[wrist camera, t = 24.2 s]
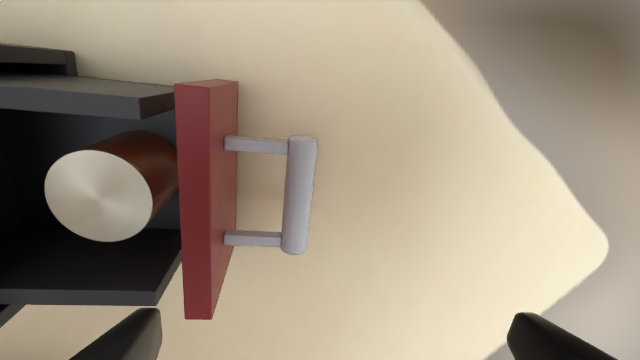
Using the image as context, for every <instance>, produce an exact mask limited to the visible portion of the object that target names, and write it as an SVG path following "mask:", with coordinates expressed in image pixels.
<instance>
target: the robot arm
mask: <svg viewBox="0 0 640 360" xmlns="http://www.w3.org/2000/svg"><path fill="white" fill-rule="evenodd" d="M161 343H162V327H161V316H160V311H159V309H157V308H140V309H138V310H136V311H135V312H133V313H132V314H131V315H129V316H128V317H126V318H125V319H124V320H122V321H121V322H120V323H118V324H117V325H116V326H114V327H113V328H111V329H110V330H109V331H107V332H106V333H105V334H103V335H102V336H100V337H99V338H98V339H96V340H95V341H94V342H92V343H91V344H90V345H88V346H87V347H85V348H84V349H83V350H81V351H80V352H79V353H77V354H76V355H75V356H73V357H72V358H70V359H69V360H156V359H157V356H158V353H159V350H160V347H161ZM507 343H508V346H509V348H510V350H511V352H512V354H513V356H514V358H515V360H618V359H616V358H614V357H612V356H610V355H608V354H607V353H605V352H603V351H601V350H600V349H598V348H596V347H594V346H593V345H591V344H589V343H587V342H585V341H583V340H582V339H580V338H578V337H576V336H574V335H573V334H571V333H569V332H567V331H566V330H564V329H562V328H560V327H558V326H557V325H555V324H553V323H551V322H549V321H548V320H546V319H544V318H542V317H541V316H539V315H537V314H535V313H524V312H521V313H517V314H516V315H515V317H514V319H513V322H512V324H511V327H510V329H509V332H508V334H507Z"/></svg>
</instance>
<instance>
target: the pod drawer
mask: <svg viewBox="0 0 640 360" xmlns="http://www.w3.org/2000/svg"><path fill="white" fill-rule="evenodd" d="M237 122H238V82H237V81H230V80H220V79H214V80H205V81H197V82H188V83H179V84H174V87H173V86H164V85H154V84H144V83H134V82H124V81H114V80H105V79H95V78H85V77H75V76H65V75H55V74H46V73H36V72H26V71H16V70H6V69H0V304H32V305H112V306H157V304H158V302H159V300H160V298H161V297H162V295H163V293H164V291H165V289H166V288H167V286H168V284H169V282H170V281H171V279H172V277H173V275H174V273H175V272H176V270H177V268H178V266H179V264H180V263H181V261H182V269H183V291H184V312H185V319H202V320H211V319H212V317H213V314H214V311H215V307H216V304H217V301H218V297H219V294H220V291H221V288H222V284H223V281H224V278H225V274H226V271H227V268H228V265H229V261H230V258H231V255H232V251H233V248H234V245H244V246H270V247H281V250H282V251H283V252H284V253H286V254H290V255H299V254H302V253H304V252H305V251H306V249H307V240H308V230H309V221H310V211H311V202H312V192H313V183H314V174H315V164H316V155H317V145H318V140H317V139H315V138H313V137H308V136H290V137H289V139H288V140H279V139H267V138H255V137H243V136H237ZM128 131H146V132H150V133H153V134H156V135H158V136H160V137H162V138H163V139H165V140H166V141H167V142H169V143H170V144H171V145H172V146H173V147H174V148H175V150H176V151H177V163H178V184H179V189H178V191H177V192H176V193H175V194H174V195H173V197H172V198H171V199H170V200H169V201H168V202H167V203H166V204H165V205H164V206H163V207H162V209H161V210H160V211H159V212H158V213H157V214H156V215H155V216H154V217H153V218H152V219H151V221H150V222H149V223H148V224H147V225H146V226H145V227H144V228H143V229H142V230H141V231H140V232H139V233H137V234H136V235H134V236H132V237H130V238H127V239H125V240H121V241H114V242H102V241H95V240H91V239H88V238H85V237H82V236H80V235H78V234H76V233H74V232H72V231H71V230H69V229H68V228H66V227H65V226H64V225H63V224H62V223H61V222H60V221H59V220H58V219H57V218H56V217H55V216H54V214H53V213H52V211H51V210H50V208H49V206H48V204H47V201H46V198H45V192H44V183H45V178H46V175H47V173H48V171H49V169H50V167H51V166H52V165H53V164H54V163H55V162H56V161H57V160H58V159H59V158H61V157H63V156H64V155H66V154H69V153H71V152H74V151H77V150H79V149H82V148H84V147H87V146H90V145H92V144H95V143H98V142H100V141H103V140H106V139H108V138H111V137H114V136H116V135H119V134H122V133H124V132H128ZM237 151H244V152H257V153H270V154H283V155H287V165H286V179H285V192H284V206H283V219H282V233H281V232H264V231H242V230H235V229H236V175H237Z"/></svg>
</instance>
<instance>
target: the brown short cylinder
mask: <svg viewBox="0 0 640 360" xmlns="http://www.w3.org/2000/svg"><path fill="white" fill-rule="evenodd" d="M178 189H179V184H178V163H177V151H176V150H175V148H174V147H173V146H172V145H171V144H170V143H169V142H167V141H166V140H165V139H163V138H162V137H160V136H158V135H156V134H153V133H150V132H146V131H128V132H124V133H122V134H119V135H116V136H114V137H111V138H108V139H106V140H103V141H100V142H98V143H95V144H92V145H90V146H87V147H84V148H82V149H79V150H77V151H74V152H71V153H69V154H66V155H64V156H63V157H61V158H59V159H58V160H57V161H56V162H55V163H54V164H53V165H52V166H51V167H50V169H49V171H48V173H47V175H46V178H45V183H44V192H45V198H46V201H47V204H48V206H49V208H50V210H51V211H52V213H53V214H54V216H55V217H56V218H57V219H58V220H59V221H60V222H61V223H62V224H63V225H64V226H65V227H66V228H68V229H69V230H71V231H72V232H74V233H76V234H78V235H80V236H82V237H85V238H88V239H91V240H95V241H102V242H114V241H121V240H125V239H127V238H130V237H132V236H134V235H136V234H137V233H139V232H140V231H141V230H142V229H143V228H144V227H145V226H146V225H147V224H148V223H149V222H150V221H151V219H152V218H153V217H154V216H155V215H156V214H157V213H158V212H159V211H160V210H161V209H162V207H163V206H164V205H165V204H166V203H167V202H168V201H169V200H170V199H171V198H172V197H173V195H174V194H175V193H176V192H177V191H178Z"/></svg>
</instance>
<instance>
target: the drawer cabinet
mask: <svg viewBox="0 0 640 360" xmlns="http://www.w3.org/2000/svg"><path fill="white" fill-rule="evenodd" d="M0 69H6V70H16V71H26V72H36V73H46V74H55V75H65V76H75V77H77V74H76V67H75V61H74V54H73V52H72V51H66V50H57V49H48V48H39V47H30V46H21V45H12V44H3V43H0ZM25 305H26V304H0V328H1V327H2V326H3V325H4V324H5V323H6V322H7V321H9V320H10V319H11V318H12V317H13V316H14V315H15V314H16V313H17V312H19V311H20V310H21V309H22V308H23V307H24V306H25Z"/></svg>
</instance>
